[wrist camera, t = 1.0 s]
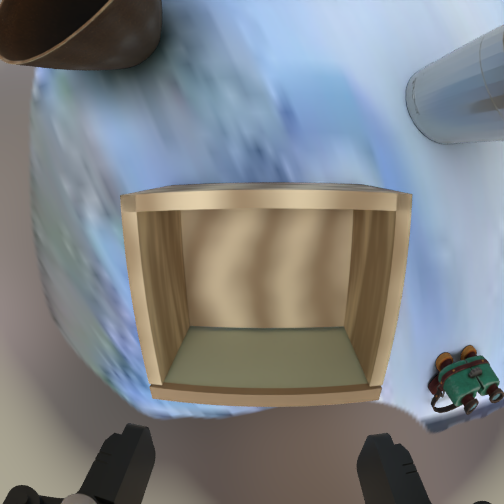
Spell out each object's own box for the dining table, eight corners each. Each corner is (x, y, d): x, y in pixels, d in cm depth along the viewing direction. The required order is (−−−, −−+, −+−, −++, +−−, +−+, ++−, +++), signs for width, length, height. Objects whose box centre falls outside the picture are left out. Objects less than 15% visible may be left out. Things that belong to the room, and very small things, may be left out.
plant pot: (128, -19, 24) (69, -82, 9) (220, 13, 26) (189, -77, 10) (61, 73, 28) (-27, 45, 12) (143, 118, 29) (52, 88, 14)
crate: (362, 184, 30) (412, 194, 19) (351, 321, 34) (382, 385, 23) (171, 185, 31) (120, 195, 20) (182, 321, 35) (149, 383, 24)
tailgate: (351, 325, 34) (381, 388, 23) (350, 335, 34) (378, 399, 23) (181, 324, 35) (149, 386, 24) (183, 335, 35) (152, 398, 24)
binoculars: (442, 447, 28) (466, 402, 25) (419, 397, 38) (433, 350, 35) (490, 427, 28) (516, 380, 24) (464, 383, 37) (481, 336, 34)
